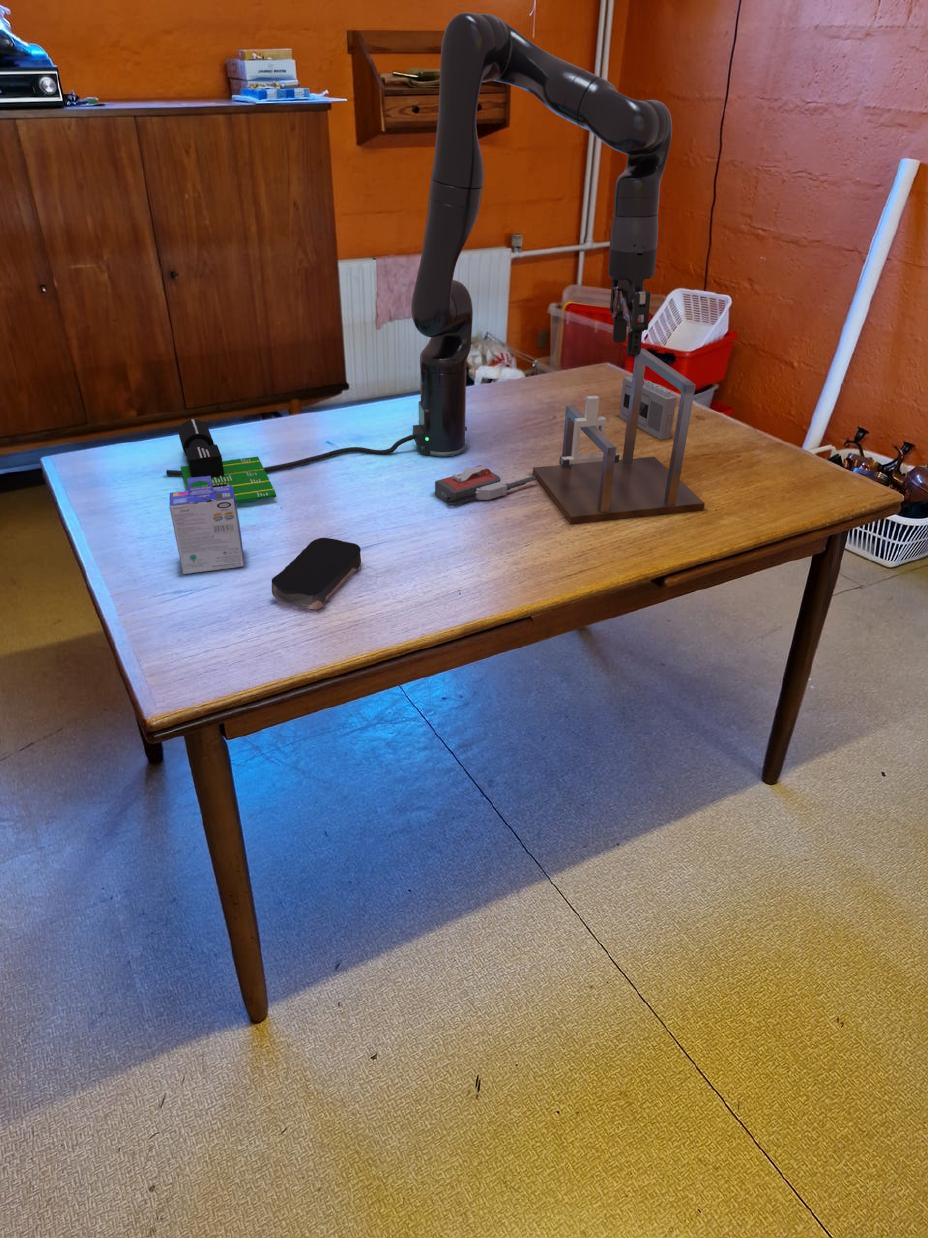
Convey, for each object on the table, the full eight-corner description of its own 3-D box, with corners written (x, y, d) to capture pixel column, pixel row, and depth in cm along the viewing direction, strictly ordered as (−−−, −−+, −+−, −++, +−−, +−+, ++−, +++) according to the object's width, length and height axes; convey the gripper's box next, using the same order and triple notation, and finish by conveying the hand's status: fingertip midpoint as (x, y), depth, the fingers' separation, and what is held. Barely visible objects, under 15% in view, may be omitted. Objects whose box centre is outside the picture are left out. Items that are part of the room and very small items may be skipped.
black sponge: (319, 554, 141) (317, 535, 139) (366, 563, 138) (364, 544, 136) (268, 604, 128) (265, 583, 126) (318, 615, 126) (315, 594, 124)
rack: (570, 524, 151) (582, 393, 138) (532, 474, 169) (540, 353, 156) (703, 510, 156) (727, 382, 143) (653, 463, 174) (670, 345, 161)
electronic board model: (273, 468, 153) (186, 480, 148) (277, 502, 157) (193, 515, 152) (245, 412, 176) (169, 421, 171) (249, 444, 180) (175, 453, 175)
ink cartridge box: (243, 551, 141) (231, 470, 133) (246, 567, 137) (233, 484, 129) (181, 559, 139) (165, 477, 131) (182, 575, 135) (165, 491, 127)
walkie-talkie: (454, 513, 154) (538, 486, 164) (454, 490, 152) (540, 465, 162) (427, 495, 160) (510, 471, 170) (427, 473, 158) (511, 450, 167)
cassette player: (618, 416, 197) (623, 373, 191) (628, 414, 198) (633, 371, 192) (660, 439, 185) (667, 394, 179) (670, 437, 186) (677, 392, 180)
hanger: (562, 467, 156) (568, 400, 149) (559, 463, 158) (564, 396, 151) (618, 462, 158) (626, 396, 151) (614, 458, 160) (622, 392, 153)
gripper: (599, 240, 142) (594, 339, 151) (622, 253, 130) (616, 360, 139) (642, 238, 143) (635, 336, 151) (670, 251, 131) (660, 357, 139)
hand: (626, 348), depth 145 cm, fingers open, 8 cm apart
